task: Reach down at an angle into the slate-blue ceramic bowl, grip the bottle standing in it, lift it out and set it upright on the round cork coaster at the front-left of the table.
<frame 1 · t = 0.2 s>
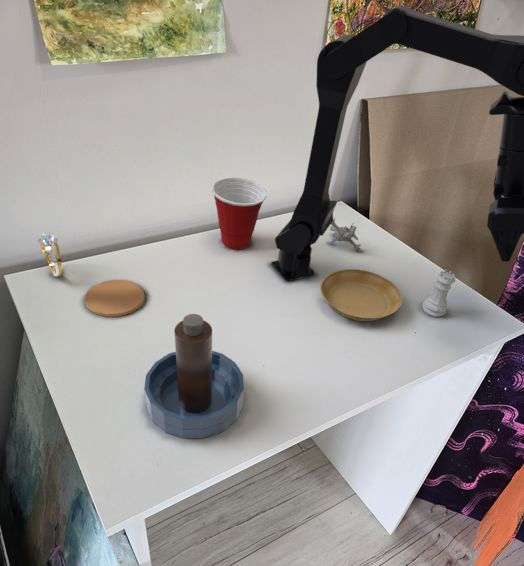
hand: (506, 247, 78), 15 cm above the table, tool pointing down, fingers open, 9 cm apart
ring: (56, 275, 90), on the table
bottle: (195, 400, 69), point 1 cm above the table, touching bowl
plant saucer: (357, 304, 90), on the table
plastic cup: (237, 243, 103), on the table
cork coaster: (115, 298, 86), on the table
bowl: (195, 403, 69), on the table
rook chess piece: (433, 311, 90), on the table
gray branched figurine: (337, 245, 105), on the table
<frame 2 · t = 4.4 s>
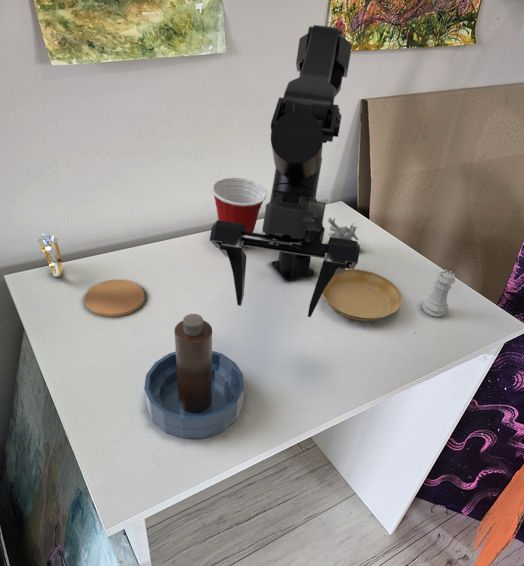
hand: (274, 311, 64), 14 cm above the table, tool tilted 40°, fingers open, 9 cm apart
nothing on the table moved.
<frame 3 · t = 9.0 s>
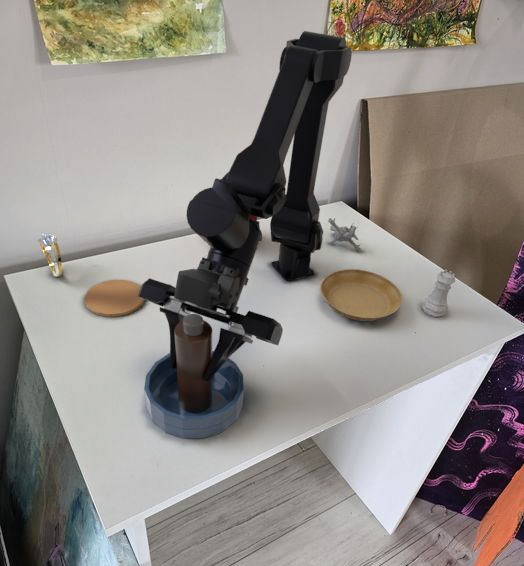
hand: (189, 374, 64), 7 cm above the table, tool tilted 45°, fingers closed on bottle, 4 cm apart
bottle: (195, 400, 69), point 1 cm above the table, touching bowl, gripper
everything else where it was.
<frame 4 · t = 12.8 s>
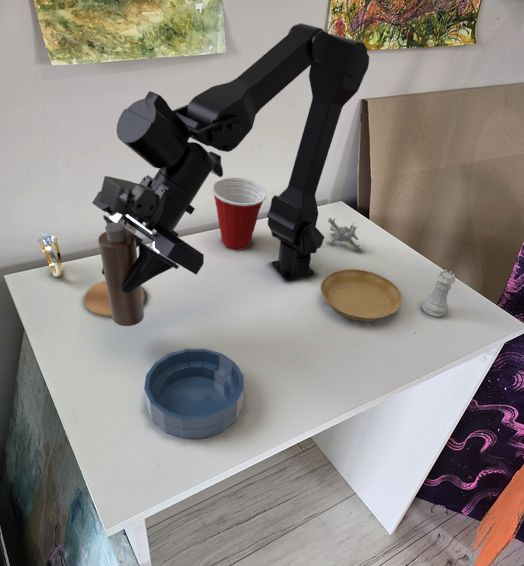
hand: (114, 283, 67), 13 cm above the table, tool tilted 45°, fingers closed on bottle, 4 cm apart
bottle: (128, 316, 72), point 6 cm above the table, touching gripper
everything else where it was.
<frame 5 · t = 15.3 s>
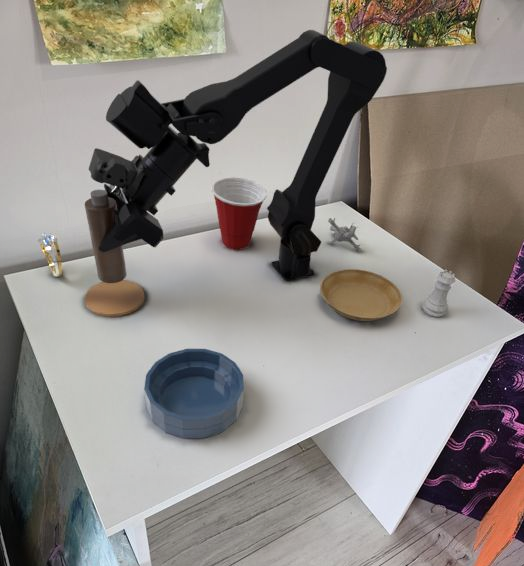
hand: (98, 242, 78), 11 cm above the table, tool tilted 45°, fingers closed on bottle, 4 cm apart
bottle: (112, 275, 82), point 5 cm above the table, touching gripper
everything else where it was.
when the fingers open (7 cm above the table, at t = 17.0 s): bottle stays where it is, resting on cork coaster.
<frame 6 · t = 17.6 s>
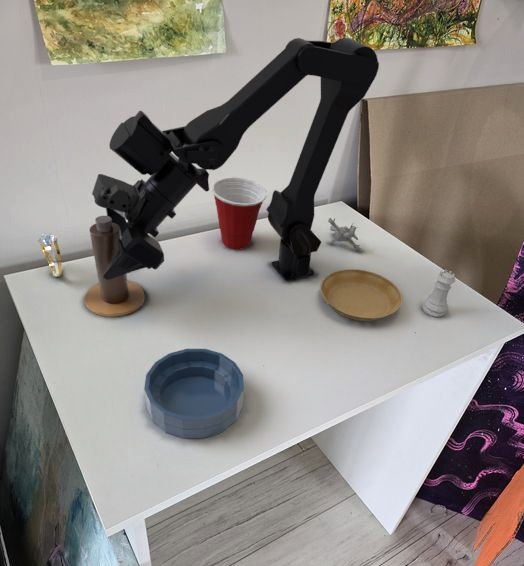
hand: (100, 262, 80), 8 cm above the table, tool tilted 45°, fingers open, 9 cm apart
bottle: (115, 296, 85), point 1 cm above the table, touching cork coaster
everything else where it was.
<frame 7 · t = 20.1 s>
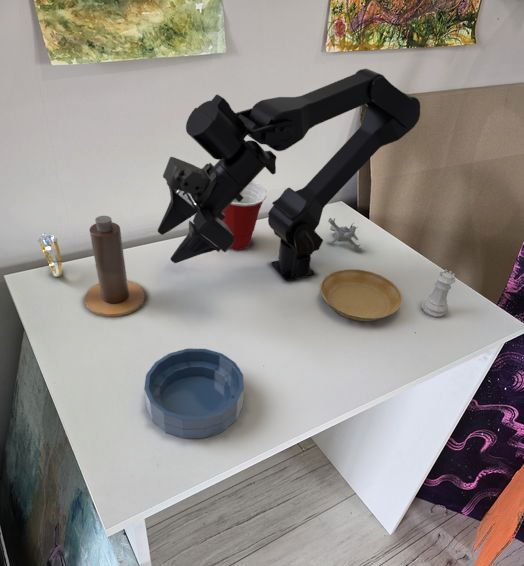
hand: (165, 246, 81), 10 cm above the table, tool tilted 45°, fingers open, 9 cm apart
nothing on the table moved.
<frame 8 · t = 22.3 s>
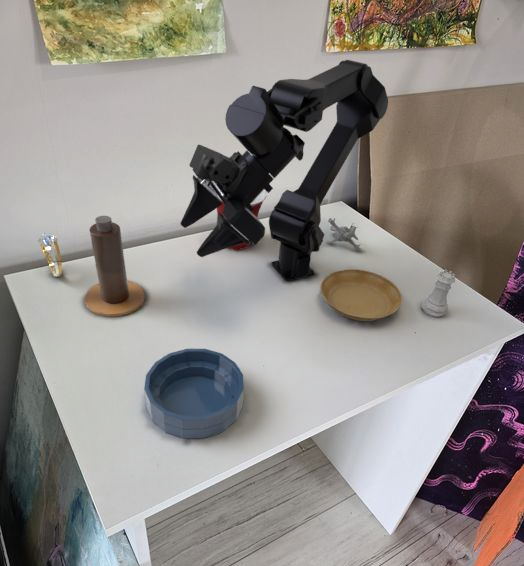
hand: (190, 240, 77), 13 cm above the table, tool tilted 45°, fingers open, 9 cm apart
nothing on the table moved.
at the end: bottle 0.1 cm off-centre on the cork coaster, point 0.6 cm above the cork coaster's base; bottle tilted 0°; bottle touching cork coaster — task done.
